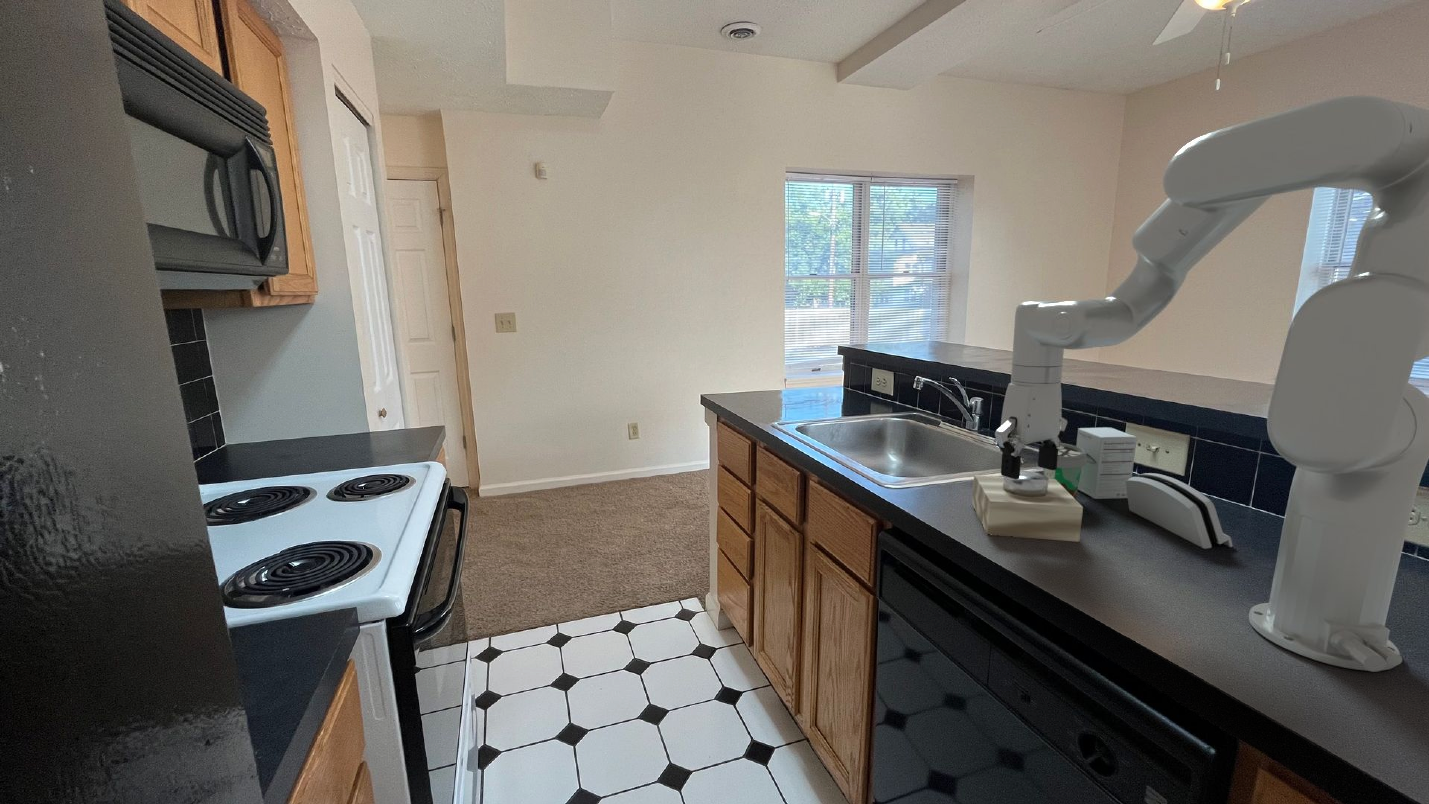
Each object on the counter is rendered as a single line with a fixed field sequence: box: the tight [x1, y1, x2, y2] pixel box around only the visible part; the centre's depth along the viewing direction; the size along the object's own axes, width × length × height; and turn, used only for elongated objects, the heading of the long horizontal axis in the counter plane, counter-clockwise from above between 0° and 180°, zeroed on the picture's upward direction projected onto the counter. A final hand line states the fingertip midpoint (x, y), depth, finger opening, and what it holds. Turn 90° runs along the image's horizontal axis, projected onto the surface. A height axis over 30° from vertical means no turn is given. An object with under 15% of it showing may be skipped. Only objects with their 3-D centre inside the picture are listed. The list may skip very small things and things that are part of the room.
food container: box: [1042, 442, 1087, 500], centre depth 116 cm, size 12×6×10 cm, turn 161°
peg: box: [1002, 469, 1049, 497], centre depth 106 cm, size 7×7×8 cm
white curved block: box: [1126, 472, 1234, 549], centre depth 103 cm, size 17×5×10 cm, turn 3°
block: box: [971, 474, 1084, 543], centre depth 106 cm, size 14×14×6 cm
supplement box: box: [1075, 426, 1138, 500], centre depth 119 cm, size 7×7×13 cm
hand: (1028, 472), depth 104 cm, fingers open, 9 cm apart
